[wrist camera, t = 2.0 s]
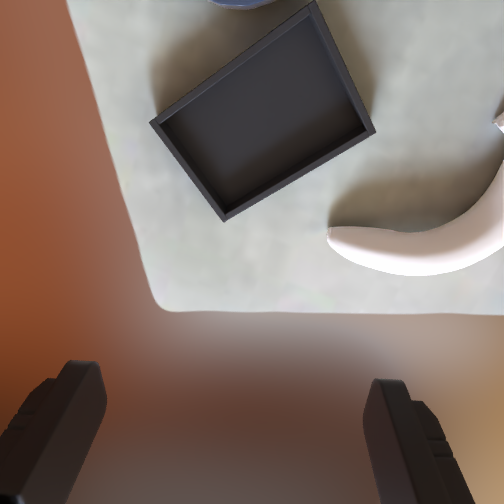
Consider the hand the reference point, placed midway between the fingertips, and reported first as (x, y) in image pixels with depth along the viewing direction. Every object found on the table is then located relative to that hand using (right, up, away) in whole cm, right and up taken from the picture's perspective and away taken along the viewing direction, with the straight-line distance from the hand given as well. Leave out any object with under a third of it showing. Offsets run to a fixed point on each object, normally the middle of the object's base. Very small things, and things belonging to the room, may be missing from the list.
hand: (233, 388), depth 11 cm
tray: (+1, +15, +21) cm, 26 cm away
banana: (+17, +10, +24) cm, 31 cm away
